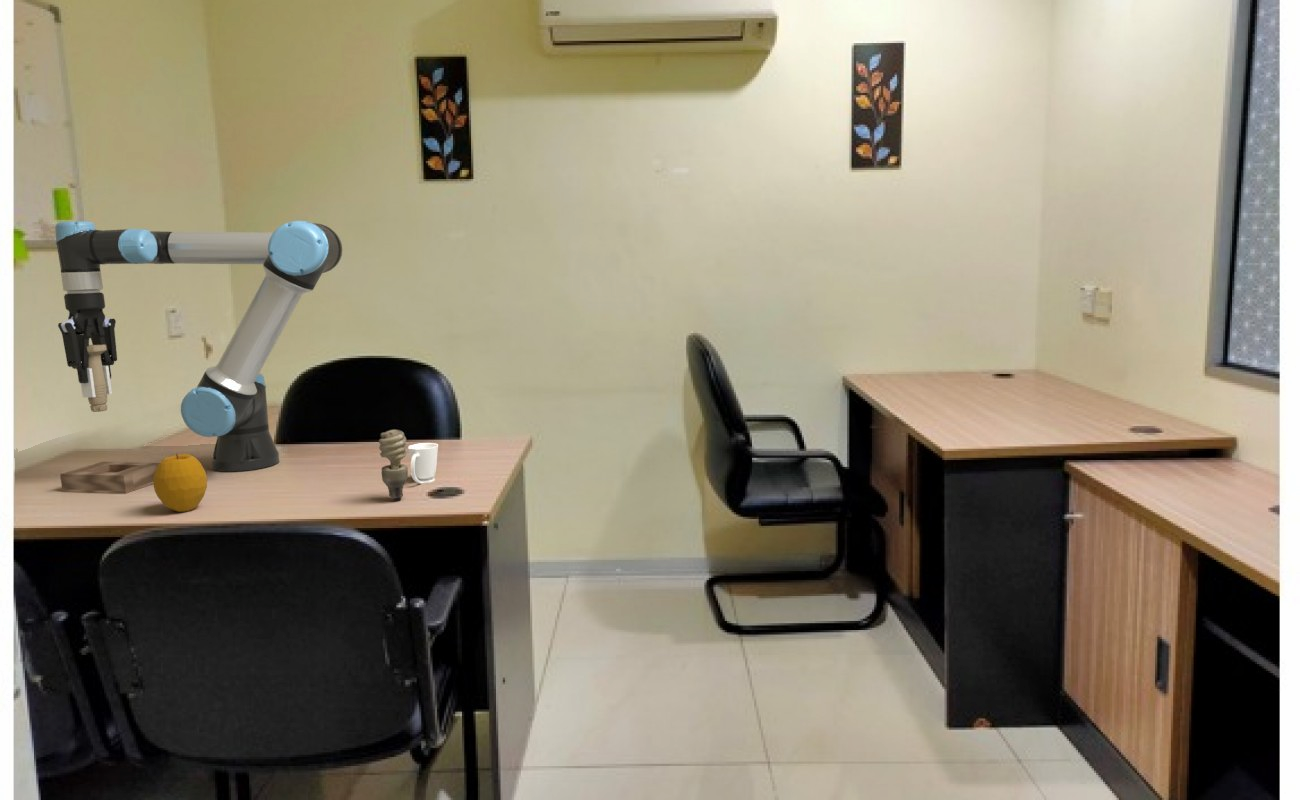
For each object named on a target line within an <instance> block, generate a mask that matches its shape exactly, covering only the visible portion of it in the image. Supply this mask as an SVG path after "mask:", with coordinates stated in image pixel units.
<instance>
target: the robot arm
mask: <svg viewBox="0 0 1300 800" xmlns="http://www.w3.org/2000/svg"><path fill="white" fill-rule="evenodd" d="M54 229H55V245H56V247H57V255H58V260H59V261H58V262H59V267H60V276H61V284H62V291H63V292H66V293H64V295H63V300H64V306H65V310H67V311H68V316H67V317H68V319H67V320H66V321H65V322H59V323H58V325H57V326H58V329H59V330H60V332H61V336H62V340H63V341H62V342H63V347H64V352H65V358H66V364H67V366H68V367H69V368H72V369H74V370H76V372H77V378H78V383H79V384H80V387H81V394H82V398H88V397H96V395H95V388H94V381H93V373H92V368H88V360H89V353H88V351H87V347H88V346H89V345H90V339H91V343H92V344H91V345H106V348H107V350H106V351H105V352H103V353H102V354H101V362H102V367H103V372H104V377H105V382H106V388H107V395H112V394H113V391H112V384H111V379H112V371H111V366H113V365H115V362H117V360H118V354H117V353H118V352H117V343H116V333H115V328H116V327H115V326H116V319H115V318H109V317H106V315H105V313H104V311H103V309H106V302H105V295H104V293H103V292H101V291H102V290H103V289H104V286H103V280H102V272H101V265H131V264H132V265H142V264H144V265H145V264H149V265H150V264H151V265H152V264H153V265H154V264H155V265H163V264H164V265H167V264H170V265H174V264H178V265H179V264H182V265H183V264H184V265H185V264H186V265H187V264H191V265H192V264H193V265H194V264H195V265H196V264H197V265H198V264H199V265H207V264H209V265H211V264H212V265H262V268H263V269H264V272H265V276H264V278H263V280H262V281H261V283H260V285H259V287H258V289H257V291H256V293H255V295H253V296H254V297H253V299H252V300H251V302H250V304H249V305H248V307H247V309H246V312H245V313H244V314H243V317H242V318H241V320H240V323H239V324H238V326H237V328H236V330H235V331H234V334H233V335H232V337H231V339H230V341H229V342H228V344H227V346H226V348H225V350H224V352H223V354H222V355H221V357H220V359H219V361H218V363H217V364H216V365H215V366H210V367H208V368H207V369H206V370H205V372H204V373H203V376H202V377H201V379H200V380H199V382H198V384H197V386H196V387H195V388H192V389H191V390H190V391H188V393H186V395H185V396H183V399H182V401H181V404H180V415H181V417H182V420H183V422H184V424H185V426H186V427H187V428H188V429H189V430H190V431H192V432H193V433H195V434H196V435H198V436H202V437H206V438H214V437H215V438H216V442H215V446H214V450H213V454H212V457H211V466H212V470H214V471H219V472H245V471H252V470H258V469H265V468H268V467H271V466H274V465H277V464H279V462H280V453H279V451H278V449H277V447H276V446H277V445H276V444H275V441H274V440H273V437H272V435H271V433H270V426H269V425H270V424H269V414H268V405H267V404H268V402H267V391H266V388H267V386H266V384H265V378H264V376H263V374H261V370H262V369H263V367H264V365H265V363H266V361H267V360H268V357H269V356H270V354H271V352H272V351H273V349H274V347H275V344H277V341H278V339H279V338H280V336H281V334H282V332H283V331H284V330H285V327H286V325H287V323H288V321H289V320H290V318H291V316H292V314H293V312H294V310H295V309H296V307H297V305H298V303H299V302H300V299H301V298H302V295H304V294H305V293H309V292H313V291H314V289H315V287H316V285H317V283H318V282H319V280H320V278H321V276H322V275H323V274H324V273H328V272H329V271H333V269H334V268H335V267H337V266H338V264H339V262H340V261H341V260H342V256H343V244H342V242H341V241H342V240H341V239H340V236H339V235H338V234H337V233H336V232H335V231H334V229H332V228H331V227H329V226H328V225H324V224H321V223H315V222H310V221H307V220H306V221H305V220H294V221H290V222H286V223H284V224H282V225H280V226H278V227H277V228H276V229H275V230H274V231H273V232H272V231H270V232H269V231H267V232H266V231H265V232H261V231H260V232H258V231H257V232H256V231H253V232H250V231H247V232H246V231H162V230H161V231H160V230H159V231H158V230H157V231H156V230H155V231H153V230H151V231H150V230H147V229H144V228H143V229H142V228H126V229H107V230H100V229H99V230H98V229H97V228H96V226H95V224H94V222H92V221H82V220H81V221H80V220H79V221H72V220H70V221H60V222H57V223H56V224H55V228H54Z"/></svg>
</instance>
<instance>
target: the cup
mask: <svg viewBox="0 0 1300 800" xmlns="http://www.w3.org/2000/svg"><path fill="white" fill-rule="evenodd" d="M407 450H408V453H409V458H410V474H411V477H412V480H414V482H415V483H417V484H420V485H421V484H429V483H433V482H435V480H436V479H435V476H436V471H437V465H438V464H437V463H438V453H439V443H434V442H422V443H415V444H410V445H408V448H407Z"/></svg>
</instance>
